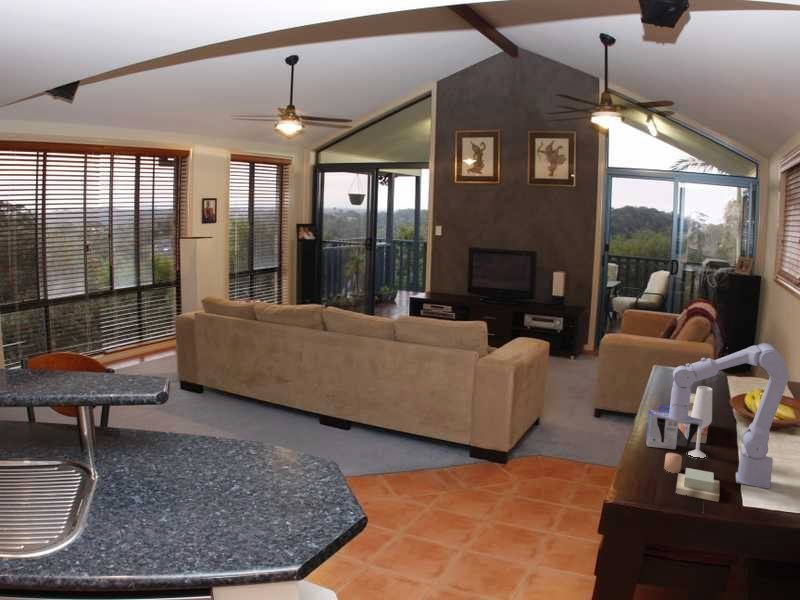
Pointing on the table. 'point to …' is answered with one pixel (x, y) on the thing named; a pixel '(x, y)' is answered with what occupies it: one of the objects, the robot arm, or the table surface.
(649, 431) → the ink cartridge box
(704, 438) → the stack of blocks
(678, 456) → the terracotta cylinder
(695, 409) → the champagne flute
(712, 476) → the green block
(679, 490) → the birch slab
